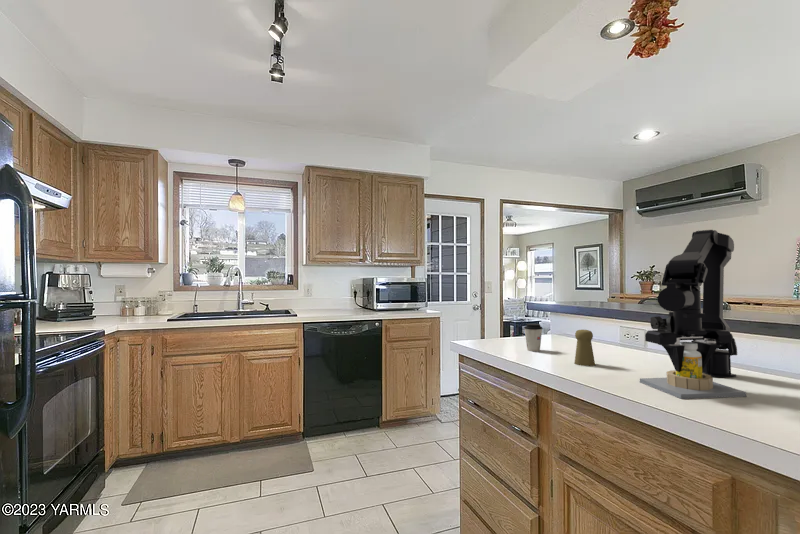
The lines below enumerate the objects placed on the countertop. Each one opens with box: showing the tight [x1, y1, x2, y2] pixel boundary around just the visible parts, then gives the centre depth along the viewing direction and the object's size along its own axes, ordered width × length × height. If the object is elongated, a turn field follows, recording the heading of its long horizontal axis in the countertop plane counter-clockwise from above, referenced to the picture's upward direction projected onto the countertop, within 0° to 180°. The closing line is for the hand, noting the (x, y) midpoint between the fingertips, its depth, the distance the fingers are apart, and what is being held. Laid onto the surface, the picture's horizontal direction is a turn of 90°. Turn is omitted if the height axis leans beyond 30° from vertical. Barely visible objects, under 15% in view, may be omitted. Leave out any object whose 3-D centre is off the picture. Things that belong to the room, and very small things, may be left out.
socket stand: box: [639, 369, 747, 400], centre depth 96 cm, size 16×14×4 cm
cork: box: [574, 329, 596, 367], centre depth 125 cm, size 6×6×11 cm
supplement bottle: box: [676, 341, 703, 378], centre depth 97 cm, size 5×5×10 cm
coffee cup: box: [523, 323, 543, 352], centre depth 148 cm, size 7×7×10 cm
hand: (688, 371), depth 97 cm, fingers closed on supplement bottle, 5 cm apart
